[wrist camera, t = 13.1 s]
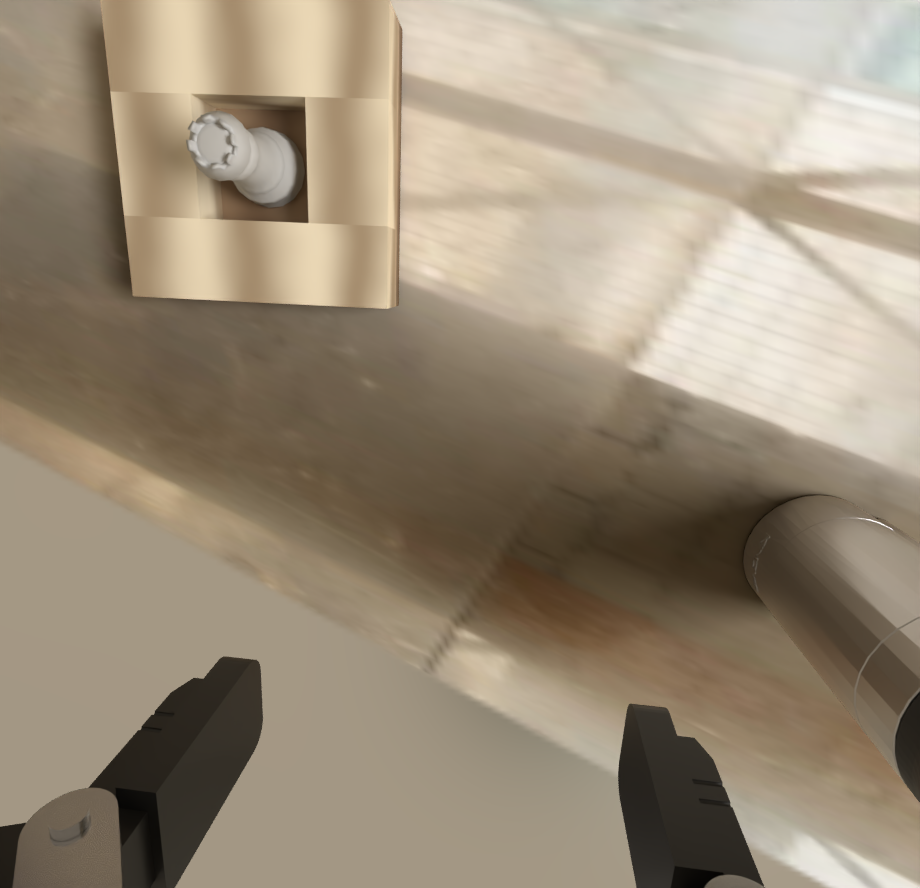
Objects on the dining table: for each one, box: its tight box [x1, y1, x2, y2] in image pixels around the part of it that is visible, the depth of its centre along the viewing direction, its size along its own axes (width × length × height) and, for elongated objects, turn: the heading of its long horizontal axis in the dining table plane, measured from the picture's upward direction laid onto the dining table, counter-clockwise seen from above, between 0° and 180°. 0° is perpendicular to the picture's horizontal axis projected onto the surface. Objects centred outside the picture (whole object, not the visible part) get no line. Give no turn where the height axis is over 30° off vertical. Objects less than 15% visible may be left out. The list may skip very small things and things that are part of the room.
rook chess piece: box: [186, 111, 305, 208], centre depth 33 cm, size 4×4×8 cm
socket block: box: [100, 0, 402, 309], centre depth 36 cm, size 16×16×4 cm
